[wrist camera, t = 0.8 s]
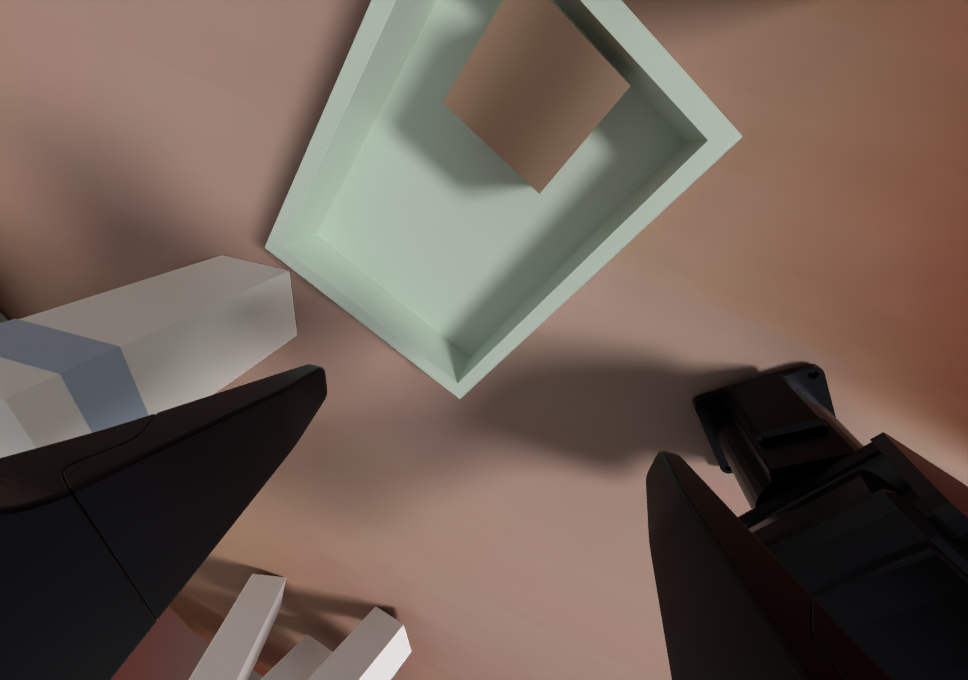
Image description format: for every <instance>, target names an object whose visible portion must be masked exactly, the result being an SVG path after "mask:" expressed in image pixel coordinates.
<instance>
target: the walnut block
mask: <svg viewBox="0 0 968 680" xmlns="http://www.w3.org/2000/svg"><path fill="white" fill-rule="evenodd" d="M629 87H630V85H629V84H628V82H627V81H626V80H625V79H624V78H623V77H622V76H621V75H620V74H619V73H618V72H617V71H616V70H615V68H614V67H613V66H612V65H611V64H610V63H609V62H608V61H607V60H606V59H605V58H604V57H603V56H602V55H601V53H600V52H599V51H598V50H597V49H596V48H595V47H594V46H593V45H592V44H591V43H590V42H589V41H588V39H587V38H586V37H585V36H584V35H583V34H582V33H581V32H580V31H579V30H578V29H577V28H576V27H575V25H574V24H573V23H572V22H571V21H570V20H569V19H568V18H567V17H566V16H565V15H564V14H563V13H562V12H561V10H560V9H559V8H558V7H557V6H556V5H555V4H554V3H553V2H552V1H551V0H503V1H502V3H501V4H500V6H499V8H498V9H497V11H496V13H495V14H494V16H493V18H492V19H491V21H490V23H489V25H488V26H487V28H486V30H485V31H484V33H483V35H482V36H481V38H480V40H479V41H478V43H477V45H476V46H475V48H474V50H473V51H472V53H471V55H470V56H469V58H468V60H467V61H466V63H465V65H464V66H463V68H462V70H461V72H460V73H459V75H458V77H457V78H456V80H455V82H454V83H453V85H452V87H451V88H450V90H449V92H448V93H447V95H446V97H445V98H444V100H443V103H444V104H445V105H446V106H447V107H448V108H449V109H450V110H451V111H452V112H453V113H454V114H455V115H456V116H457V117H458V118H459V119H461V120H462V121H463V122H464V123H465V124H466V125H467V126H468V127H469V128H470V129H471V130H472V131H473V132H474V133H475V134H476V135H477V136H479V137H480V138H481V139H482V140H483V141H484V142H485V143H486V144H487V145H488V146H489V147H490V148H491V149H492V150H493V151H494V152H495V153H497V154H498V155H499V156H500V157H501V158H502V159H503V160H504V161H505V162H506V163H507V164H508V165H509V166H510V167H511V168H512V169H513V170H515V171H516V172H517V173H518V174H519V175H520V176H521V177H522V178H523V179H524V180H525V181H526V182H527V183H528V184H529V185H530V186H531V187H533V188H534V189H535V190H536V191H537V192H538V193H539V194H540V193H541V192H542V190H543V189H544V188H545V187H546V186H547V184H548V183H549V182H550V181H551V180H552V179H553V177H554V176H555V175H556V174H557V173H558V171H559V170H560V169H561V168H562V167H563V165H564V164H565V163H566V162H567V161H568V160H569V158H570V157H571V156H572V155H573V154H574V152H575V151H576V150H577V149H578V148H579V147H580V145H581V144H582V143H583V142H584V141H585V139H586V138H587V137H588V136H589V135H590V134H591V132H592V131H593V130H594V129H595V128H596V126H597V125H598V124H599V123H600V122H601V121H602V119H603V118H604V117H605V116H606V115H607V113H608V112H609V111H610V110H611V109H612V107H613V106H614V105H615V104H616V103H617V102H618V100H619V99H620V98H621V97H622V96H623V94H624V93H625V92H626V91H627V90H628V89H629Z"/></svg>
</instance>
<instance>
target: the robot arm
mask: <svg viewBox="0 0 968 680" xmlns="http://www.w3.org/2000/svg"><path fill="white" fill-rule="evenodd" d="M810 372H814V373H813V374H811V375H808V374H809V373H810ZM326 395H327V385H326V375H325V370H324V369H323V368H322V367H320V366H316V365H312V364H307V365H304V366H301V367H298V368H295V369H292V370H289V371H285V372H282V373H279V374H276V375H273V376H270V377H267V378H264V379H261V380H257V381H254V382H251V383H248V384H245V385H242V386H239V387H236V388H233V389H229V390H226V391H223V392H220V393H217V394H214V395H211V396H208V397H205V398H201V399H198V400H195V401H192V402H189V403H186V404H183V405H180V406H177V407H173V408H170V409H167V410H164V411H161V412H158V413H157V414H151V415H148V416H145V417H142V418H139V419H136V420H133V421H130V422H126V423H123V424H120V425H117V426H113V427H110V428H107V429H104V430H100V431H97V432H93V433H89V434H86V435H82V436H79V437H75V438H72V439H68V440H65V441H61V442H57V443H54V444H50V445H46V446H43V447H39V448H35V449H32V450H28V451H24V452H21V453H17V454H13V455H10V456H6V457H2V458H0V680H111V679H112V677H113V676H114V675H115V673H116V672H117V671H118V670H119V668H120V667H121V666H122V665H123V663H124V662H125V661H126V660H127V658H128V657H129V656H130V654H131V653H132V652H133V651H134V649H135V648H136V647H137V646H138V644H139V643H140V642H141V641H142V639H143V638H144V637H145V636H146V634H147V633H148V632H149V630H150V629H151V628H152V627H153V625H154V624H155V623H156V621H157V619H158V618H159V617H160V616H161V615H162V614H163V612H164V611H165V610H166V609H167V607H168V606H169V605H170V604H171V602H172V601H173V600H174V598H175V597H176V596H177V595H178V593H179V592H180V591H181V590H182V588H183V587H184V586H185V585H186V583H187V582H188V581H189V579H190V578H191V577H192V576H193V574H194V573H195V572H196V571H197V569H198V568H199V567H200V566H201V564H202V563H203V562H204V561H205V559H206V558H207V557H208V555H209V554H210V553H211V552H212V550H213V549H214V548H215V547H216V545H217V544H218V543H219V542H220V540H221V539H222V538H223V536H224V535H225V534H226V533H227V531H228V530H229V529H230V528H231V526H232V525H233V524H234V523H235V521H236V520H237V519H238V517H239V516H240V515H241V514H242V512H243V511H244V510H245V509H246V507H247V506H248V505H249V504H250V502H251V501H252V500H253V499H254V497H255V496H256V495H257V493H258V492H259V491H260V490H261V488H262V487H263V486H264V485H265V483H266V482H267V481H268V480H269V478H270V477H271V476H272V474H273V473H274V472H275V471H276V469H277V468H278V467H279V466H280V464H281V463H282V462H283V461H284V459H285V458H286V457H287V456H288V454H289V453H290V452H291V450H292V449H293V448H294V446H295V445H296V444H297V442H298V441H299V439H300V438H301V436H302V435H303V433H304V432H305V430H306V428H307V427H308V425H309V424H310V422H311V421H312V419H313V417H314V416H315V414H316V413H317V411H318V410H319V408H320V406H321V405H322V403H323V402H324V400H325V398H326ZM702 402H706V403H705V404H703V405H700V403H702ZM693 405H694V407H695V410H696V412H697V415H698V417H699V419H700V422H701V424H702V426H703V429H704V431H705V433H706V436H707V438H708V440H709V443H710V445H711V447H712V450H713V452H714V455H715V457H716V459H717V462H718V464H719V466H720V468H721V470H722V471H723V472H725V473H734V475H735V477H736V479H737V481H738V483H739V485H740V487H741V489H742V491H743V493H744V495H745V497H746V499H747V501H748V503H749V505H750V507H751V509H752V510H750V511H748V512H746V513H744V514H743V515H741V516H739V517H737V516H736V515H735V514H734V513H733V512H732V511H731V510H730V509H729V508H728V507H727V506H726V504H725V503H724V502H723V501H722V500H721V499H720V498H719V497H718V496H717V495H716V494H715V493H714V492H713V491H712V490H711V489H710V487H709V486H708V485H707V484H706V483H705V482H704V481H703V480H702V479H701V478H700V477H699V476H698V475H697V474H696V473H695V472H694V470H693V469H692V468H691V467H690V466H689V465H688V464H687V463H686V462H685V461H684V460H683V459H682V458H681V457H680V456H679V455H678V454H675V453H671V452H666V451H660V452H659V453H658V454H657V456H656V458H655V459H654V461H653V463H652V465H651V467H650V469H649V471H648V473H647V477H646V491H647V510H648V530H649V543H650V550H651V557H652V563H653V569H654V575H655V581H656V587H657V593H658V599H659V605H660V611H661V617H662V623H663V629H664V635H665V641H666V647H667V653H668V659H669V665H670V671H671V677H672V680H968V487H967V486H966V485H964V484H963V483H961V482H960V481H958V480H957V479H955V478H954V477H952V476H951V475H949V474H948V473H946V472H944V471H943V470H941V469H940V468H938V467H937V466H935V465H934V464H932V463H931V462H929V461H927V460H926V459H924V458H923V457H921V456H920V455H918V454H917V453H915V452H914V451H912V450H910V449H909V448H907V447H906V446H904V445H903V444H901V443H900V442H898V441H897V440H895V439H893V438H892V437H890V436H889V435H887V434H886V433H884V432H883V433H881V434H879V435H877V436H876V437H874V438H872V439H870V440H871V441H872V442H871V443H869V444H867V445H865V446H863V445H862V444H861V443H860V442H859V441H858V440H857V439H856V438H855V437H854V436H853V435H852V434H851V433H850V432H849V431H848V430H847V429H846V428H845V427H844V426H843V425H842V424H841V423H840V422H839V421H838V420H837V419H836V416H835V412H834V409H833V405H832V401H831V397H830V393H829V389H828V385H827V381H826V378H825V374H824V371H823V370H822V369H821V368H820V367H819V366H817V365H815V364H806V365H803V366H799V367H796V368H793V369H789V370H786V371H782V372H779V373H775V374H772V375H768V376H765V377H761V378H758V379H754V380H751V381H747V382H744V383H740V384H737V385H733V386H730V387H726V388H723V389H720V390H716V391H713V392H709V393H706V394H702V395H699V396H697V397H695V398H694V399H693ZM728 465H729V466H728Z"/></svg>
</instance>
